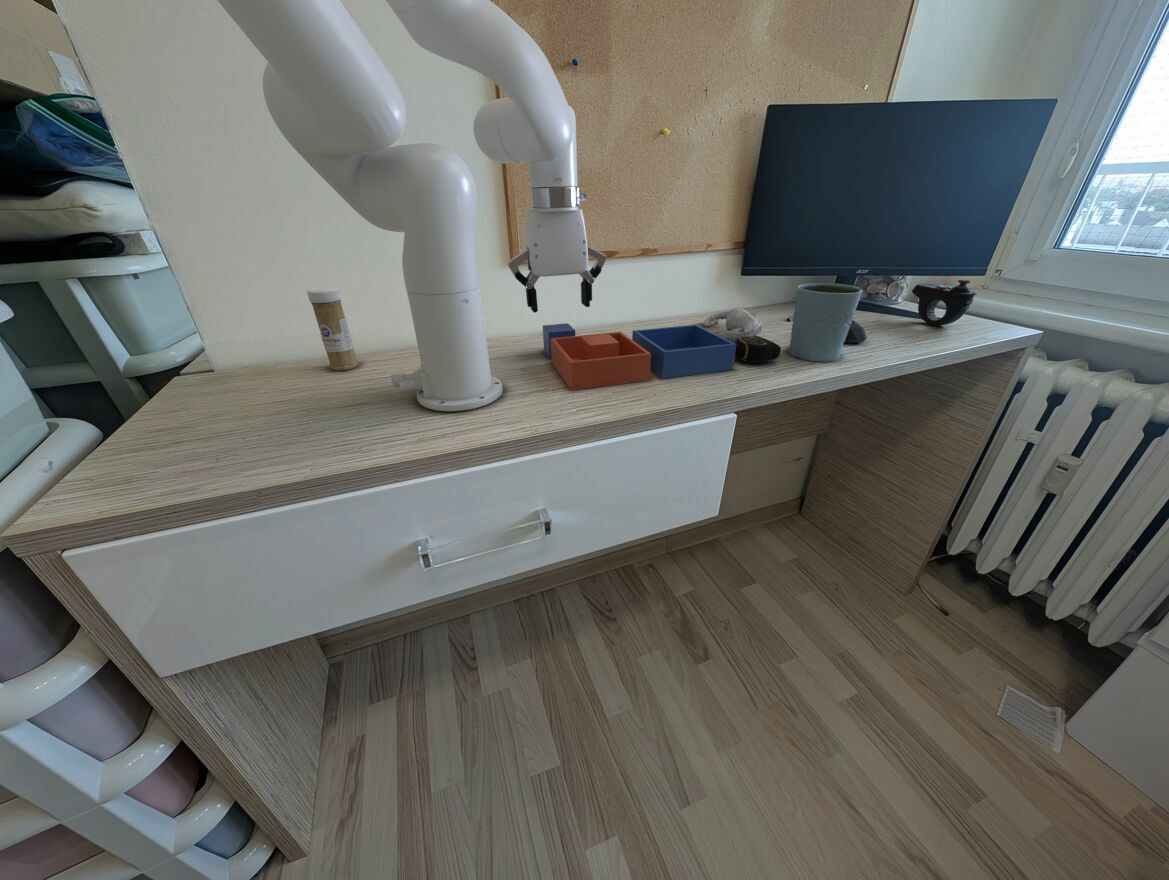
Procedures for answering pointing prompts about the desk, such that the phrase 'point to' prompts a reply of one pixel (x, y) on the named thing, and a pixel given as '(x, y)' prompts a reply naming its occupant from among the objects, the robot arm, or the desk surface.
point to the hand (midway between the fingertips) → (560, 307)
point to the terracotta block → (599, 347)
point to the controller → (952, 297)
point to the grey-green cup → (822, 320)
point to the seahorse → (736, 323)
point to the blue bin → (685, 350)
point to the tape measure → (756, 349)
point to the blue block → (555, 335)
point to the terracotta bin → (600, 363)
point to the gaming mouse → (855, 333)
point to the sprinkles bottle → (333, 327)
